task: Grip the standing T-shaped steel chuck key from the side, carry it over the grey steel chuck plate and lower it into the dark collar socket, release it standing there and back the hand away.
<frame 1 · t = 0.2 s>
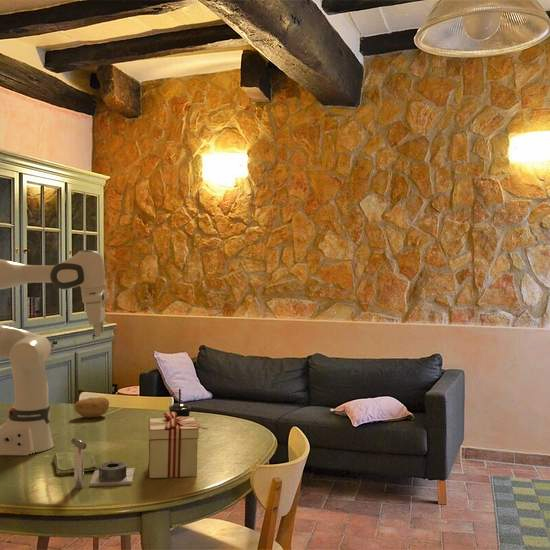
hand: (99, 334, 230), 39 cm above the table, tool pointing down, fingers open, 8 cm apart
washcloth: (75, 467, 209), on the table
drinking cup: (179, 445, 231), on the table
chuck socket: (112, 478, 197), on the table
chuck key: (79, 487, 190), on the table
potato: (91, 417, 271), on the table
gift box: (176, 470, 206), on the table
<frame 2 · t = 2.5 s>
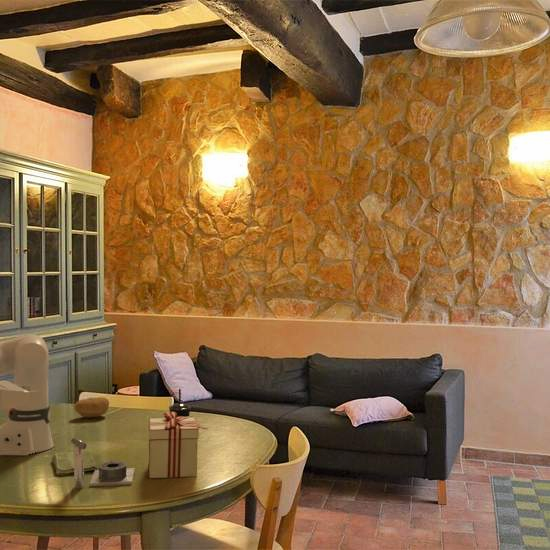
hand: (34, 391, 182), 29 cm above the table, tool horizontal, fingers open, 8 cm apart
nothing on the table moved.
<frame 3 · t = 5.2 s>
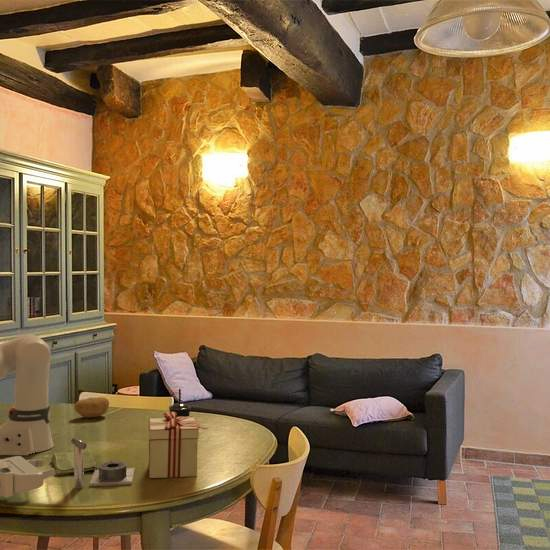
hand: (48, 466, 184), 8 cm above the table, tool horizontal, fingers open, 8 cm apart
nothing on the table moved.
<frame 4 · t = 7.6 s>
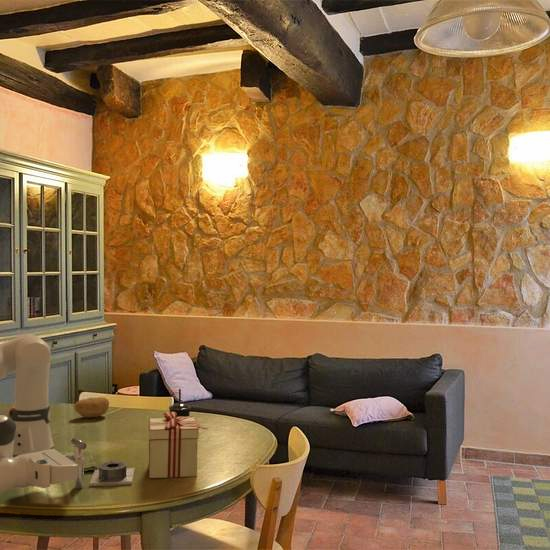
hand: (81, 459, 190), 8 cm above the table, tool horizontal, fingers closed on chuck key, 3 cm apart
chuck key: (79, 487, 190), on the table, touching gripper
everything else where it was.
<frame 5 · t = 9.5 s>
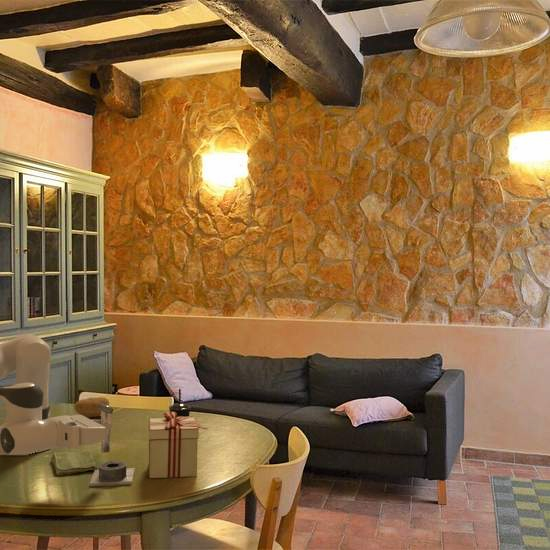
hand: (108, 423, 195), 17 cm above the table, tool horizontal, fingers closed on chuck key, 3 cm apart
chuck key: (105, 451, 195), point 9 cm above the table, touching gripper
everything else where it was.
when the fingers open (10 cm above the table, at t = 11.7 s): chuck key stays where it is, resting on chuck socket.
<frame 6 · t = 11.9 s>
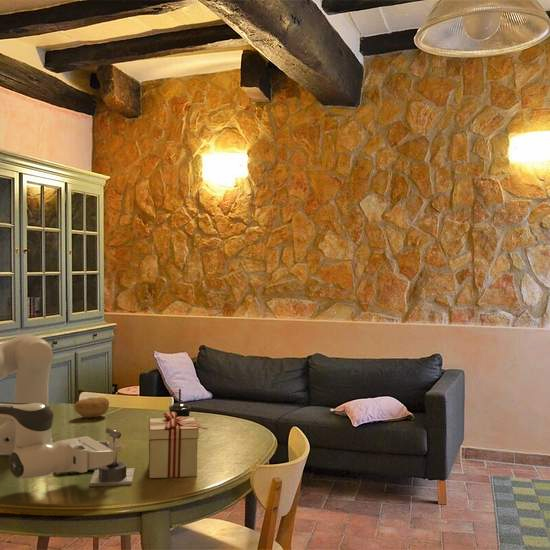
hand: (115, 445, 197), 10 cm above the table, tool horizontal, fingers open, 5 cm apart
chuck key: (112, 475, 197), point 1 cm above the table, touching chuck socket
everything else where it was.
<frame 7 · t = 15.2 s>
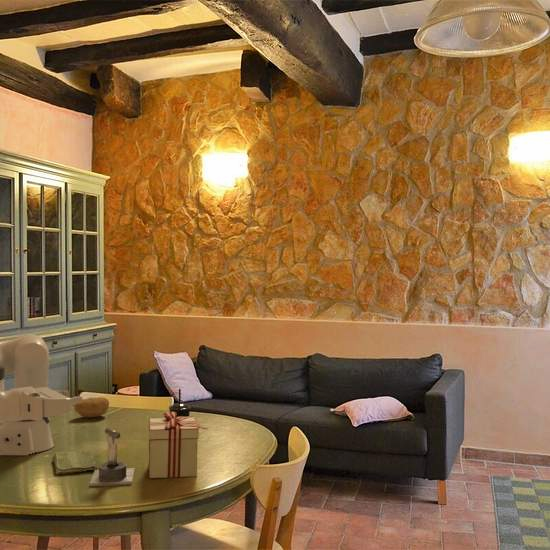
hand: (75, 396, 189), 27 cm above the table, tool horizontal, fingers open, 8 cm apart
nothing on the table moved.
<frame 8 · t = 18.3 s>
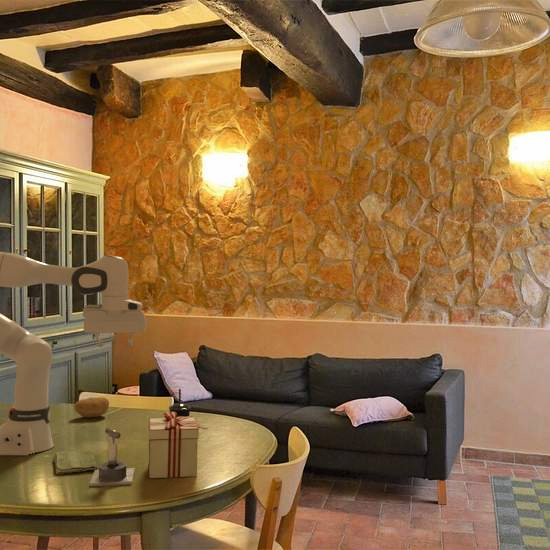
hand: (115, 346, 216), 37 cm above the table, tool pointing down, fingers open, 8 cm apart
nothing on the table moved.
at the end: chuck key 0.1 cm off-centre on the chuck socket, point 1.0 cm above the chuck socket's base; chuck key tilted 0°; the gripper is holding nothing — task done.
